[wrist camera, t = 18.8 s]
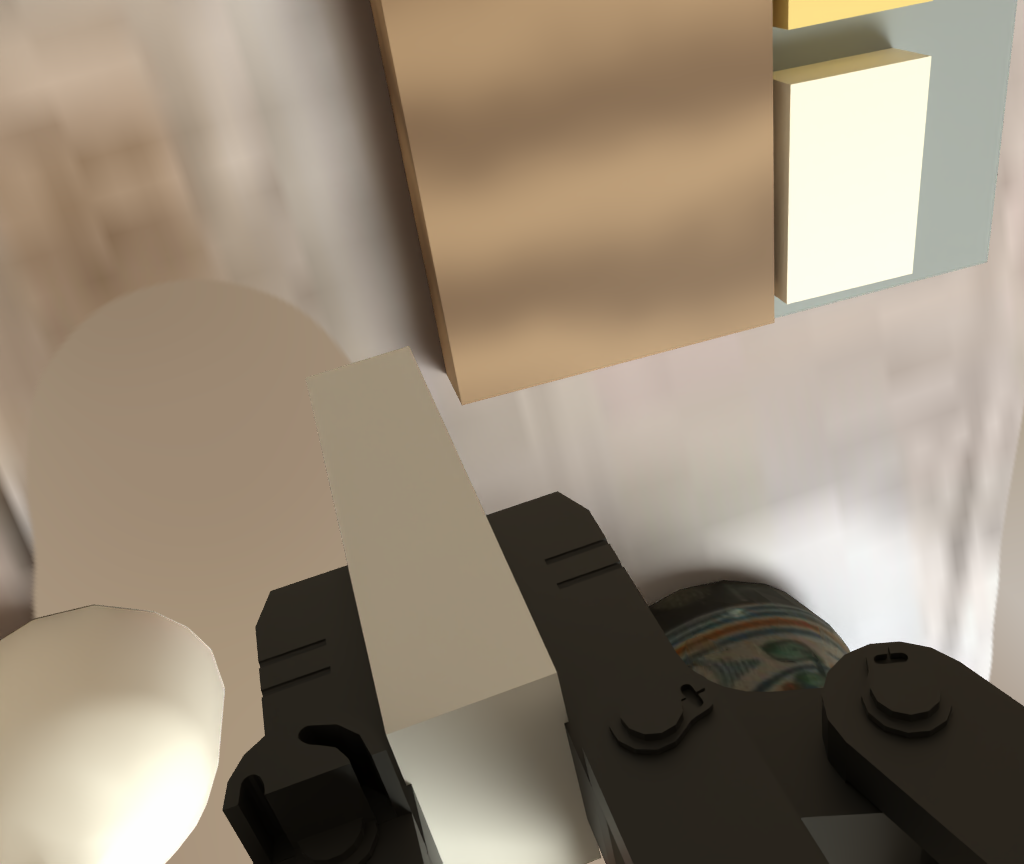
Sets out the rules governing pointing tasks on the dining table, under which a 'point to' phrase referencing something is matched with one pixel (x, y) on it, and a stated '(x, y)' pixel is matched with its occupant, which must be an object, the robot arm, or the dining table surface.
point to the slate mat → (932, 119)
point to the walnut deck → (584, 177)
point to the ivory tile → (847, 171)
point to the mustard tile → (828, 10)
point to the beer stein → (749, 636)
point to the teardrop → (105, 737)
